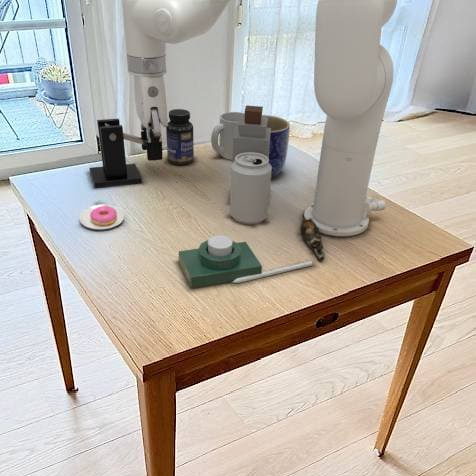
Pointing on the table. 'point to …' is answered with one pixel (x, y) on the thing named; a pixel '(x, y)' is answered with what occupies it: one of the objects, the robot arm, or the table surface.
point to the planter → (278, 142)
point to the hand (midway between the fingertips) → (152, 153)
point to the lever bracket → (113, 158)
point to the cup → (225, 134)
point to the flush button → (220, 246)
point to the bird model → (312, 237)
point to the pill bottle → (180, 137)
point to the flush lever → (131, 137)
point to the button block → (218, 265)
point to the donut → (101, 216)
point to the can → (250, 187)
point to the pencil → (273, 272)
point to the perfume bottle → (252, 133)
